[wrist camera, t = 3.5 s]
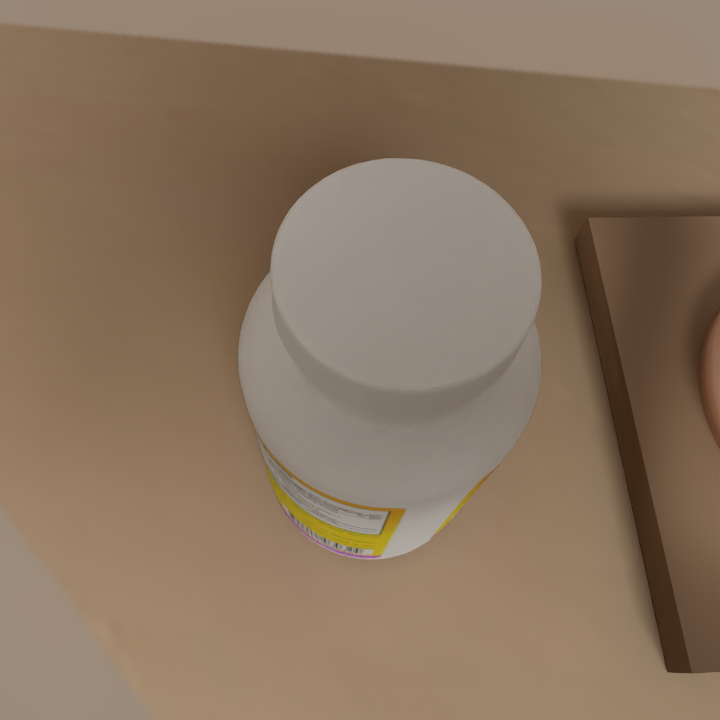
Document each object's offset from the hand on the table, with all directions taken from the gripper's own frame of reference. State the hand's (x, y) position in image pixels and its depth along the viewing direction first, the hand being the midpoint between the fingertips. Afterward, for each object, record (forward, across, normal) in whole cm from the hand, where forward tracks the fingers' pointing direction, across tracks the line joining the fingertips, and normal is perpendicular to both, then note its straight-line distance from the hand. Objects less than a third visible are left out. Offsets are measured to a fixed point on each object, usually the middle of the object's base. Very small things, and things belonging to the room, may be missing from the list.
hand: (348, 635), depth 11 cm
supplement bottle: (+12, +1, -4) cm, 13 cm away
